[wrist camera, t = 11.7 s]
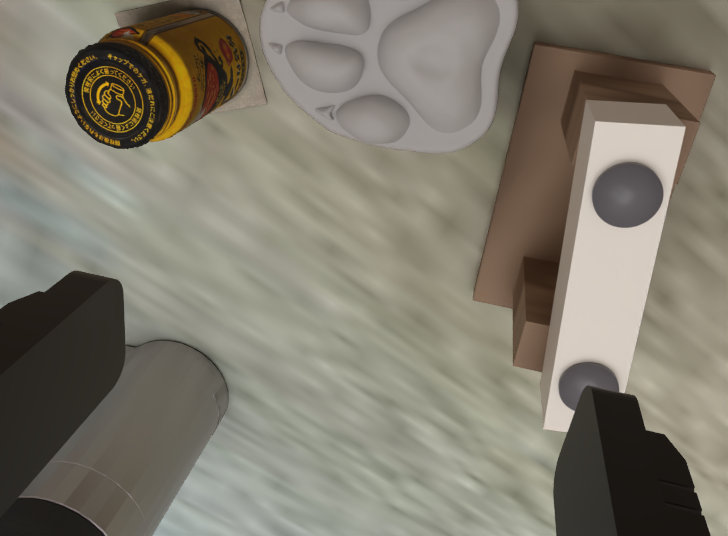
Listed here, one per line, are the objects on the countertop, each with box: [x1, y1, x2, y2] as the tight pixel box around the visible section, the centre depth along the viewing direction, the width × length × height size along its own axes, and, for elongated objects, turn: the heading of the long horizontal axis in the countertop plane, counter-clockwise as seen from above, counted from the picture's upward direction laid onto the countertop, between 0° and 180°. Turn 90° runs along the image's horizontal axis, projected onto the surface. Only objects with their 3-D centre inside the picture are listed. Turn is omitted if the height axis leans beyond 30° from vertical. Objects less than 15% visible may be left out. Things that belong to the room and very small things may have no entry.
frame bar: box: [540, 100, 686, 432], centre depth 33 cm, size 16×4×4 cm, turn 179°
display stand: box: [473, 42, 716, 372], centre depth 39 cm, size 10×17×10 cm, turn 172°
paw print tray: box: [260, 0, 519, 153], centre depth 37 cm, size 10×13×9 cm
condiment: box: [65, 0, 267, 149], centre depth 39 cm, size 7×8×12 cm
